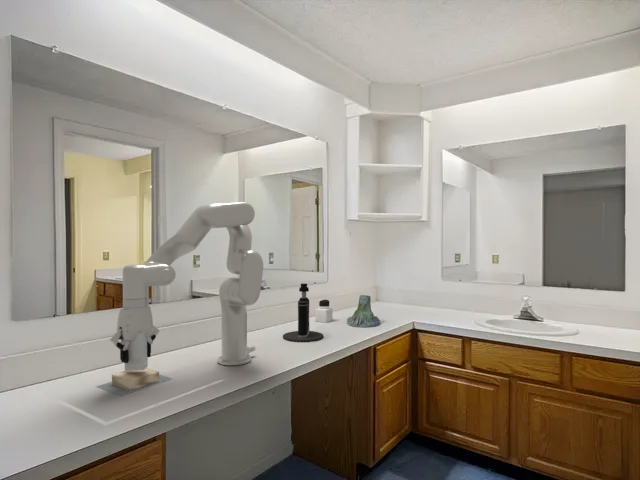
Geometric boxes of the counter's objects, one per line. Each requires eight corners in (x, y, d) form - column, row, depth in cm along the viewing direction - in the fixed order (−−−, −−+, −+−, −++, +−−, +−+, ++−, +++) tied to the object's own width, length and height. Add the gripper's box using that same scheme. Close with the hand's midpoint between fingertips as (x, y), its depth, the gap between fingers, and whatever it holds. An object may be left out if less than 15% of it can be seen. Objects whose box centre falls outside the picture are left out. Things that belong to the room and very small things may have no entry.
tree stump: (340, 326, 220) (341, 293, 225) (353, 328, 238) (354, 297, 242) (373, 328, 213) (374, 293, 217) (384, 329, 230) (384, 297, 234)
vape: (325, 333, 203) (324, 282, 203) (321, 342, 184) (321, 287, 184) (286, 332, 205) (286, 282, 205) (279, 341, 186) (279, 286, 186)
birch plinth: (141, 375, 139) (141, 366, 139) (159, 381, 133) (159, 371, 133) (112, 383, 130) (112, 374, 130) (129, 390, 125) (129, 380, 125)
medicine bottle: (332, 320, 234) (332, 299, 234) (326, 322, 228) (326, 301, 228) (322, 319, 238) (321, 298, 238) (315, 321, 232) (315, 300, 232)
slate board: (148, 373, 143) (148, 371, 143) (173, 381, 135) (173, 378, 135) (95, 389, 128) (95, 386, 128) (120, 398, 120) (120, 396, 120)
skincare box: (148, 366, 134) (147, 329, 134) (143, 370, 130) (143, 332, 130) (128, 367, 134) (128, 329, 134) (123, 371, 129) (123, 332, 129)
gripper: (153, 299, 141) (153, 351, 141) (102, 306, 127) (102, 364, 127) (166, 301, 137) (166, 354, 137) (115, 308, 122) (115, 368, 122)
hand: (136, 358), depth 132 cm, fingers closed on skincare box, 6 cm apart
